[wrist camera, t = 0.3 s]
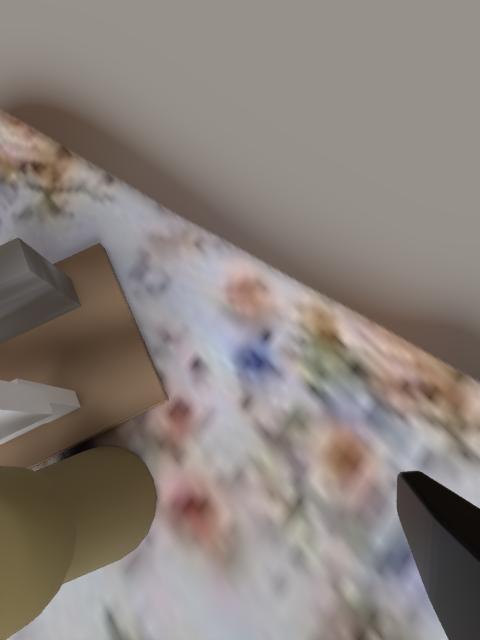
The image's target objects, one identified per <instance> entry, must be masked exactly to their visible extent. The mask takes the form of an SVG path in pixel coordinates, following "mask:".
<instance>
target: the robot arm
mask: <svg viewBox="0 0 480 640" xmlns="http://www.w3.org/2000/svg"><path fill="white" fill-rule="evenodd" d="M397 512H398V516H399V519H400V522H401V525H402V527H403V530H404V533H405V535H406V538H407V541H408V544H409V546H410V549H411V552H412V554H413V557H414V560H415V563H416V565H417V568H418V571H419V573H420V576H421V579H422V582H423V584H424V587H425V589H426V592H427V594H428V597H429V599H430V601H431V604H432V606H433V608H434V610H435V612H436V614H437V616H438V618H439V621H440V623H441V625H442V627H443V629H444V631H445V633H446V635H447V637H448V639H449V640H480V508H478V507H476V506H475V505H473V504H472V503H470V502H468V501H467V500H465V499H464V498H462V497H460V496H459V495H457V494H456V493H454V492H452V491H451V490H449V489H448V488H446V487H445V486H443V485H441V484H440V483H438V482H437V481H435V480H433V479H432V478H430V477H429V476H427V475H425V474H424V473H422V472H420V471H407V472H400V473H399V474H398V477H397Z"/></svg>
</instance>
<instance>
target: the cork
mask: <svg viewBox="0 0 480 640" xmlns="http://www.w3.org/2000/svg"><path fill="white" fill-rule="evenodd" d="M156 499H157V496H156V490H155V485H154V480H153V478H152V476H151V474H150V472H149V470H148V468H147V466H146V465H145V463H144V462H143V461H141V460H140V459H139V458H138V457H137V456H136V455H135V454H134V453H133V452H130V451H128V450H125V449H123V448H121V447H118V446H99V447H96V448H92V449H89V450H86V451H83V452H81V453H78V454H76V455H74V456H71V457H69V458H66V459H64V460H61V461H59V462H57V463H54V464H52V465H49V466H47V467H44V468H42V469H40V470H37V471H33V470H31V469H28V468H25V467H13V466H0V640H6V639H7V638H9V637H10V636H12V635H13V634H15V633H16V632H17V631H19V630H20V629H22V628H23V627H25V626H26V625H28V624H29V623H30V622H31V621H33V620H34V619H35V618H36V617H37V616H39V615H40V614H41V612H42V611H43V610H44V609H45V607H46V606H47V605H48V604H49V602H50V601H51V600H52V599H53V597H54V596H55V595H56V594H57V592H58V591H59V589H60V587H61V585H62V584H64V583H66V582H69V581H71V580H73V579H76V578H78V577H80V576H83V575H85V574H87V573H90V572H92V571H94V570H97V569H99V568H101V567H104V566H106V565H108V564H110V563H113V562H115V561H117V560H120V559H122V558H123V557H124V556H126V555H127V554H129V553H130V552H132V551H133V550H135V549H136V548H137V547H138V545H139V544H140V543H141V541H142V540H143V539H144V538H145V536H146V535H147V534H148V532H149V529H150V527H151V524H152V521H153V519H154V516H155V509H156Z"/></svg>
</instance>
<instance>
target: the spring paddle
mask: <svg viewBox="0 0 480 640" xmlns="http://www.w3.org/2000/svg"><path fill="white" fill-rule="evenodd" d="M80 407H81V406H80V404H79V401H78V398H77V395H76V392H75V391H72V390H68V389H63V388H59V387H54V386H49V385H45V384H40V383H35V382H31V381H26V380H22V379H15V380H13V381H11V382H7V381H2V380H0V445H1V444H3V443H5V442H7V441H9V440H11V439H13V438H15V437H17V436H19V435H22V434H24V433H26V432H28V431H30V430H32V429H34V428H36V427H38V426H40V425H42V424H44V423H49V422H51V421H53V420H55V419H57V418H59V417H61V416H64V415H66V414H68V413H70V412H72V411H74V410H76V409H78V408H80Z"/></svg>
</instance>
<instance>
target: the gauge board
mask: <svg viewBox="0 0 480 640" xmlns="http://www.w3.org/2000/svg"><path fill="white" fill-rule="evenodd" d="M15 379H22V380H26V381H31V382H35V383H40V384H45V385H49V386H54V387H59V388H63V389H68V390H72V391H75V392H76V395H77V398H78V401H79V404H80V406H81V407H80V408H78V409H76V410H74V411H72V412H70V413H68V414H66V415H64V416H61V417H59V418H57V419H55V420H53V421H51V422H49V423H44V424H42V425H40V426H38V427H36V428H34V429H32V430H30V431H28V432H26V433H24V434H22V435H19V436H17V437H15V438H13V439H11V440H9V441H7V442H5V443H3V444H1V445H0V466H13V467H25V468H28V469H30V468H33V467H35V466H37V465H39V464H41V463H43V462H45V461H47V460H49V459H51V458H53V457H55V456H57V455H59V454H61V453H63V452H65V451H67V450H69V449H71V448H73V447H75V446H77V445H79V444H81V443H83V442H85V441H87V440H89V439H91V438H93V437H95V436H97V435H99V434H101V433H103V432H105V431H107V430H109V429H112V428H114V427H116V426H118V425H120V424H122V423H124V422H126V421H128V420H130V419H132V418H134V417H136V416H138V415H140V414H142V413H144V412H146V411H148V410H150V409H152V408H154V407H156V406H158V405H160V404H162V403H164V402H166V401H168V397H167V395H166V393H165V390H164V388H163V386H162V383H161V381H160V378H159V376H158V374H157V371H156V369H155V367H154V364H153V362H152V359H151V357H150V355H149V352H148V350H147V348H146V345H145V343H144V341H143V338H142V336H141V333H140V331H139V329H138V326H137V324H136V322H135V319H134V317H133V315H132V312H131V310H130V307H129V305H128V303H127V300H126V298H125V296H124V293H123V291H122V289H121V286H120V284H119V281H118V279H117V277H116V274H115V272H114V270H113V267H112V265H111V263H110V260H109V258H108V255H107V253H106V251H105V248H104V247H103V246H102V245H101V244H100V243H99V244H97V245H94V246H92V247H90V248H88V249H86V250H84V251H81V252H79V253H77V254H75V255H73V256H71V257H68V258H66V259H64V260H62V261H60V262H58V263H55V264H51V263H50V262H49V261H47V260H46V259H45V258H44V257H42V256H41V255H40V254H38V253H37V252H36V251H35V250H33V249H32V248H31V247H30V246H28V245H27V244H26V243H24V242H23V241H22V240H21V239H19V238H17V239H15V240H12V241H10V242H8V243H6V244H4V245H1V246H0V380H2V381H7V382H11V381H13V380H15Z"/></svg>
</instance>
